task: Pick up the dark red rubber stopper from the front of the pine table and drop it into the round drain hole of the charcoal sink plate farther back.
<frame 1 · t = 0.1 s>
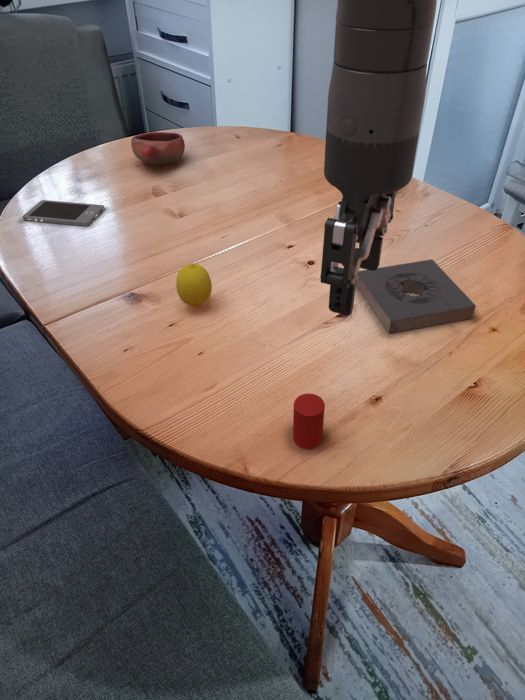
hand: (354, 288, 54), 21 cm above the table, tool pointing down, fingers open, 8 cm apart
stopper: (307, 437, 66), on the table
sink: (410, 300, 88), on the table
decorative egg: (377, 193, 118), on the table
lemon: (196, 307, 88), on the table
bowl: (163, 166, 132), on the table
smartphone: (64, 215, 113), on the table
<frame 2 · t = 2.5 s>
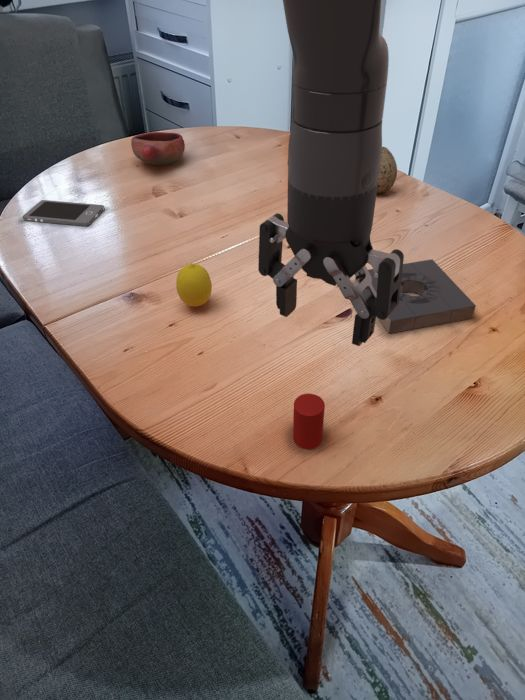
hand: (322, 326, 55), 17 cm above the table, tool pointing down, fingers open, 8 cm apart
nothing on the table moved.
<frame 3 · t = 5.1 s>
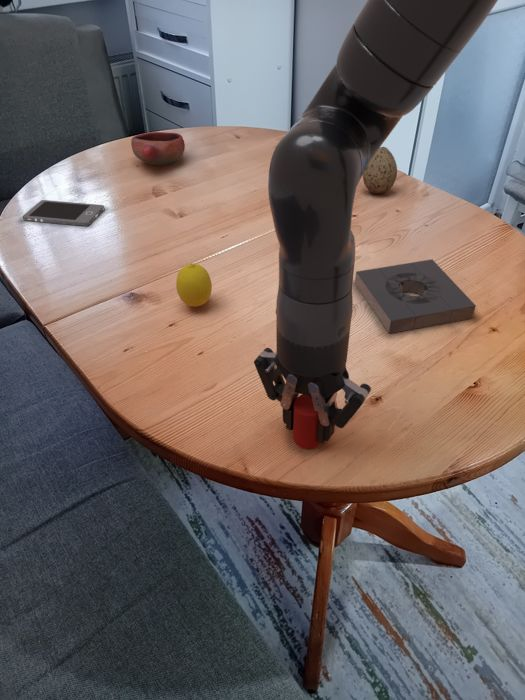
hand: (307, 431, 66), 1 cm above the table, tool pointing down, fingers closed on stopper, 3 cm apart
stopper: (307, 437, 66), on the table, touching gripper
everything else where it was.
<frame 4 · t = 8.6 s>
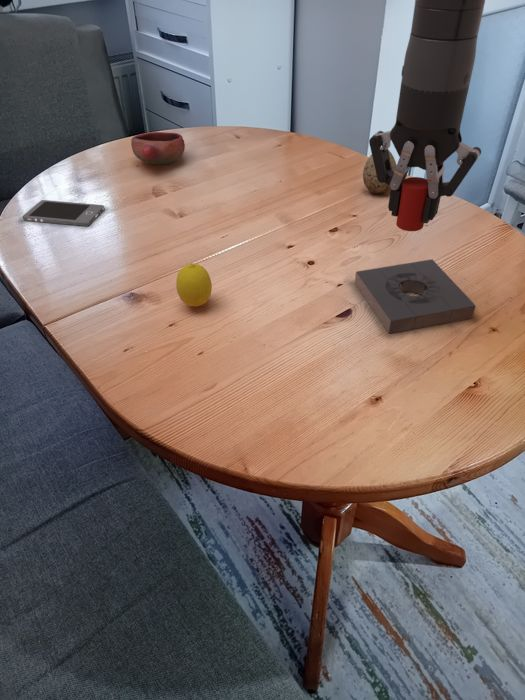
hand: (411, 216, 72), 18 cm above the table, tool pointing down, fingers closed on stopper, 3 cm apart
stopper: (409, 224, 73), point 16 cm above the table, touching gripper
everything else where it was.
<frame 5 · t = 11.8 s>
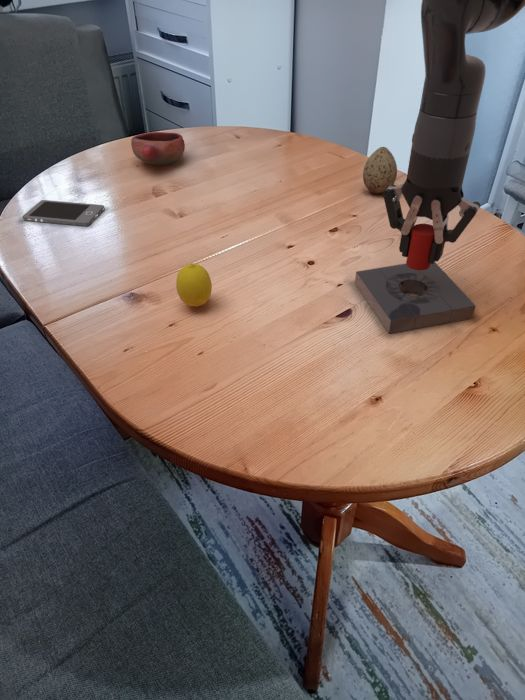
hand: (419, 257, 82), 8 cm above the table, tool pointing down, fingers closed on stopper, 3 cm apart
stopper: (418, 264, 83), point 7 cm above the table, touching gripper
everything else where it was.
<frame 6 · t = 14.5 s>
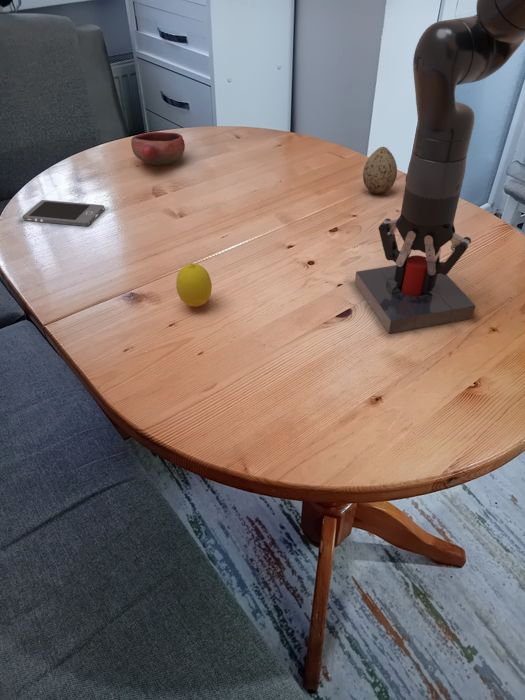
hand: (413, 287, 86), 3 cm above the table, tool pointing down, fingers closed on stopper, 3 cm apart
stopper: (412, 293, 87), point 1 cm above the table, touching gripper
everything else where it was.
when the fingers open (3 cm above the table, at t = 18.8 s): stopper drops 2 cm, resting in sink.
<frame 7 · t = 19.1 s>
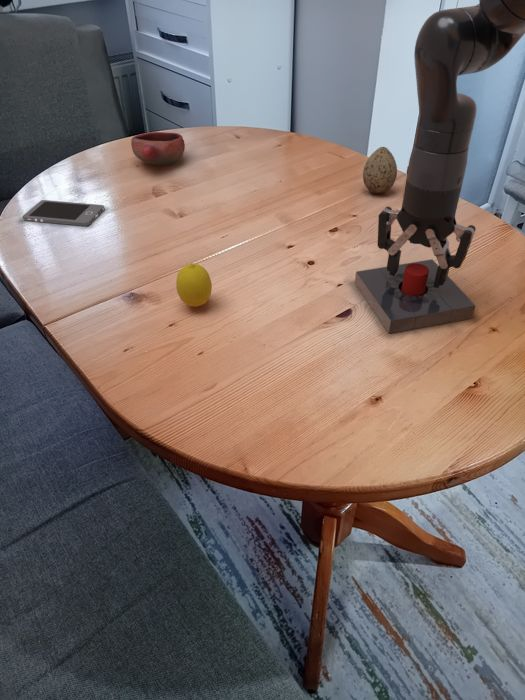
hand: (414, 278, 85), 4 cm above the table, tool pointing down, fingers open, 6 cm apart
stopper: (411, 300, 87), resting in sink
everything else where it was.
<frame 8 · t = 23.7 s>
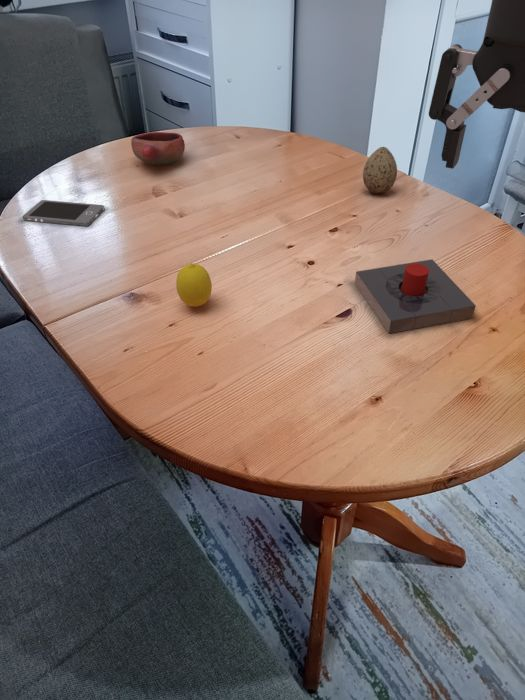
hand: (495, 173, 52), 30 cm above the table, tool pointing down, fingers open, 8 cm apart
nothing on the table moved.
at the end: stopper 0.1 cm off-centre in the sink, point 0.0 cm above the sink's base; stopper tilted 0°; the gripper is holding nothing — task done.
